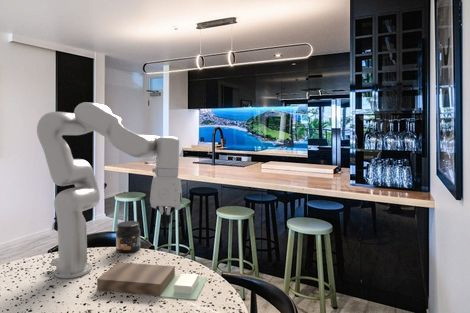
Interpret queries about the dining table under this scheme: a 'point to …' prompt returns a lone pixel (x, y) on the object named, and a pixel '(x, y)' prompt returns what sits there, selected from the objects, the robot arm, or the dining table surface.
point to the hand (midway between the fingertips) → (165, 224)
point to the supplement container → (128, 237)
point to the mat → (171, 294)
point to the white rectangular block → (186, 283)
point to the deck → (136, 279)
